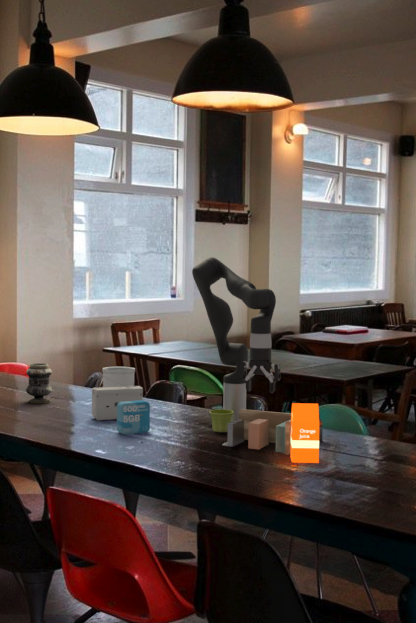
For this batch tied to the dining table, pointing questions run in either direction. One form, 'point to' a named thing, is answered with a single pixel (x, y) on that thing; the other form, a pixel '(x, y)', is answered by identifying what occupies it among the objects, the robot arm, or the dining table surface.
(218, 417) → the plant pot
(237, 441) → the bookend
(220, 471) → the dining table surface
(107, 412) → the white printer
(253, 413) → the rack
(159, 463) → the dining table surface
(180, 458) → the dining table surface
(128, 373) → the utensil holder
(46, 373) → the stone urn vase
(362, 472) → the dining table surface
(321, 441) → the supplement bottle
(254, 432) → the tan rectangular block
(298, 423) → the orange juice
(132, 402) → the data package
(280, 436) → the teal book
